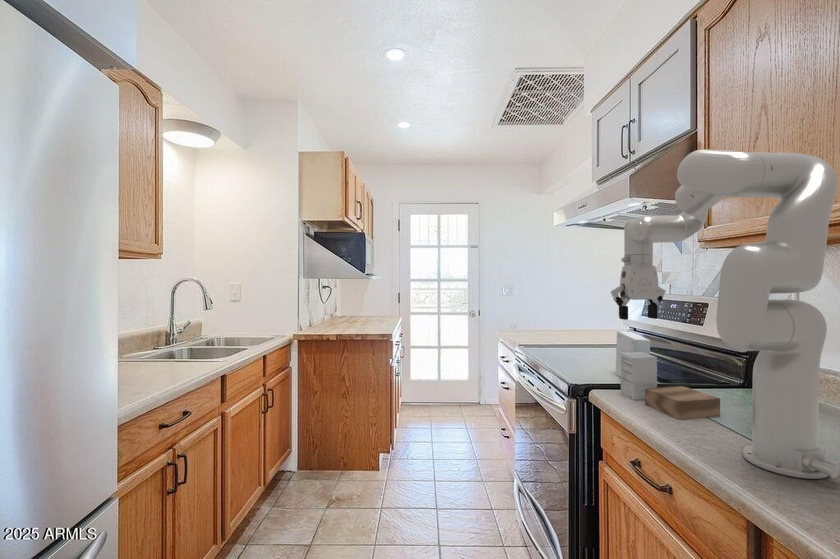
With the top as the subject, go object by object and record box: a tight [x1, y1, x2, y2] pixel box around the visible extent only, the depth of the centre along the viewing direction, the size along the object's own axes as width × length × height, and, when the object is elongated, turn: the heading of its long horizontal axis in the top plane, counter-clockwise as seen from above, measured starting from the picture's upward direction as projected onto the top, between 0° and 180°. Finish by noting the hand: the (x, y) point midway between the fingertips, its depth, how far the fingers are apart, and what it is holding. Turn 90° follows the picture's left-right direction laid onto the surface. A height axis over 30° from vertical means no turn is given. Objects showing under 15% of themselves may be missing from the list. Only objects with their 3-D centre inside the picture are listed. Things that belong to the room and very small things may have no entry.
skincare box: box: [614, 330, 651, 378], centre depth 141 cm, size 21×6×16 cm, turn 168°
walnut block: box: [644, 385, 721, 421], centre depth 110 cm, size 12×12×5 cm
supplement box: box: [620, 352, 658, 401], centre depth 123 cm, size 7×7×13 cm
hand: (638, 318), depth 123 cm, fingers open, 9 cm apart
